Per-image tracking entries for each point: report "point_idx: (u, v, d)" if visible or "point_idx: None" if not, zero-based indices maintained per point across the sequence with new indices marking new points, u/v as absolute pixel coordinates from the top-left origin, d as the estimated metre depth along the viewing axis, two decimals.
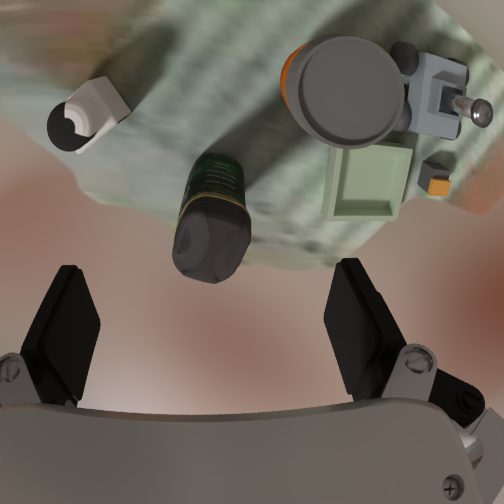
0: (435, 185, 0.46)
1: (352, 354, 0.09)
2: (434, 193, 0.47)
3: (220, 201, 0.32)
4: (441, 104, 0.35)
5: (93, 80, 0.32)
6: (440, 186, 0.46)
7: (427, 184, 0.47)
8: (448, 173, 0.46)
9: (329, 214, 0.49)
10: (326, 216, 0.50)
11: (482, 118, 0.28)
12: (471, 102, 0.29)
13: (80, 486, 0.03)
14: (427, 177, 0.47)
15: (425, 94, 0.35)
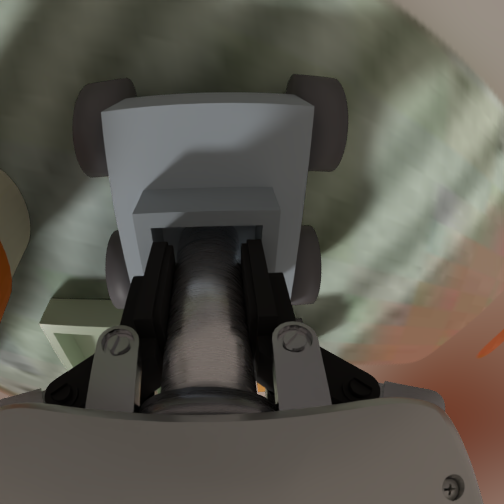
0: None
1: None
2: None
3: None
4: None
5: None
6: None
7: None
8: None
9: None
10: None
11: None
12: (168, 375, 0.07)
13: (80, 486, 0.03)
14: None
15: (136, 246, 0.14)
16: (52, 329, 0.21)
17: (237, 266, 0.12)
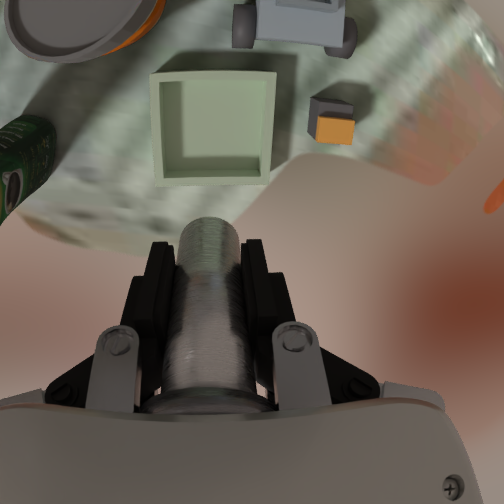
0: (324, 126, 0.32)
1: None
2: (325, 139, 0.32)
3: None
4: None
5: None
6: (335, 128, 0.32)
7: (315, 127, 0.33)
8: (350, 110, 0.31)
9: (157, 176, 0.35)
10: None
11: None
12: (168, 375, 0.08)
13: (80, 486, 0.03)
14: (314, 117, 0.33)
15: None
16: (160, 78, 0.28)
17: (237, 267, 0.12)
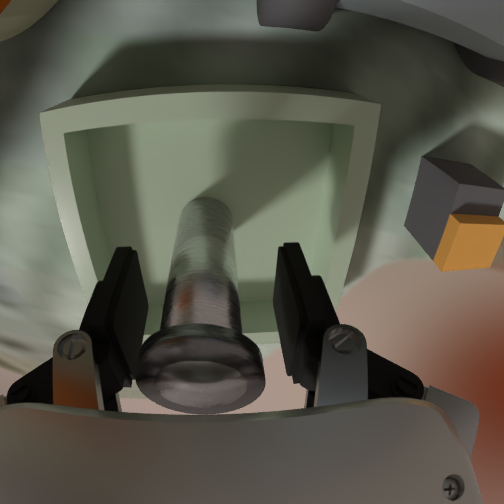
0: (462, 240, 0.13)
1: (288, 335, 0.10)
2: (455, 264, 0.14)
3: None
4: None
5: None
6: (477, 242, 0.13)
7: (435, 233, 0.14)
8: (500, 199, 0.13)
9: None
10: None
11: (194, 396, 0.09)
12: (166, 321, 0.09)
13: (80, 486, 0.03)
14: (436, 210, 0.14)
15: None
16: (64, 122, 0.10)
17: (229, 238, 0.13)
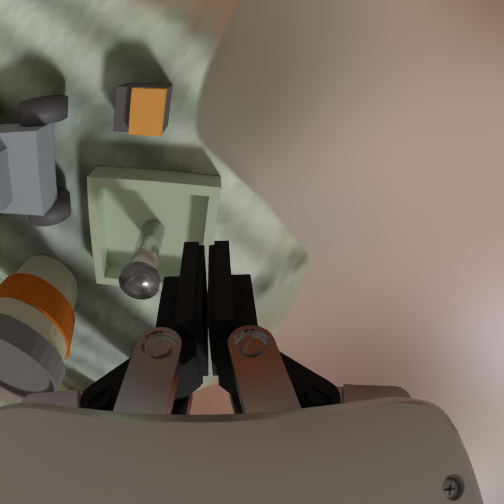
0: (139, 128, 0.24)
1: None
2: (157, 126, 0.24)
3: None
4: None
5: None
6: (141, 114, 0.23)
7: None
8: (122, 90, 0.22)
9: None
10: None
11: (145, 286, 0.26)
12: None
13: (80, 486, 0.03)
14: None
15: None
16: (100, 276, 0.33)
17: (142, 233, 0.31)
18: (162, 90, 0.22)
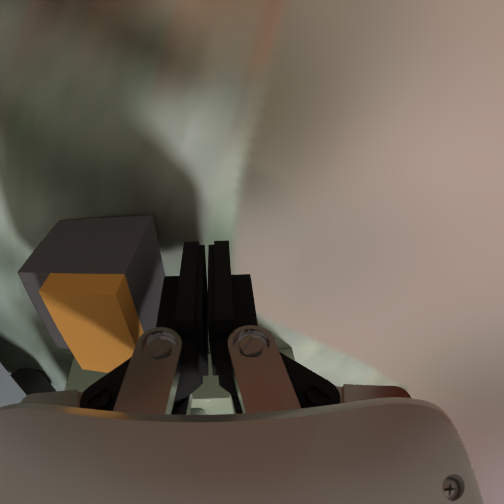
0: (97, 362, 0.10)
1: None
2: None
3: None
4: None
5: None
6: (88, 341, 0.09)
7: None
8: (31, 279, 0.09)
9: None
10: None
11: None
12: None
13: (80, 486, 0.03)
14: None
15: None
16: None
17: None
18: (108, 296, 0.08)
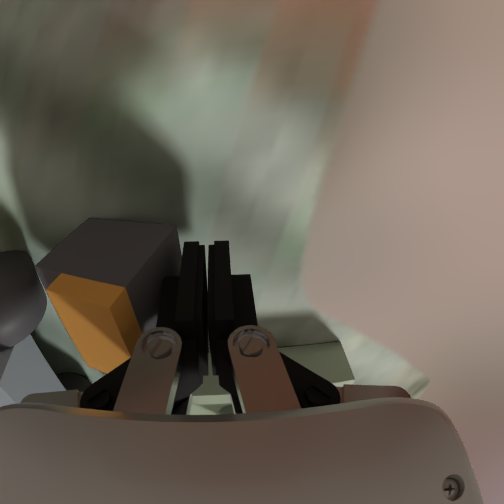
0: (100, 363, 0.10)
1: None
2: None
3: None
4: None
5: None
6: (90, 343, 0.10)
7: None
8: (46, 275, 0.10)
9: None
10: None
11: None
12: None
13: (80, 486, 0.03)
14: None
15: None
16: None
17: None
18: (103, 308, 0.08)
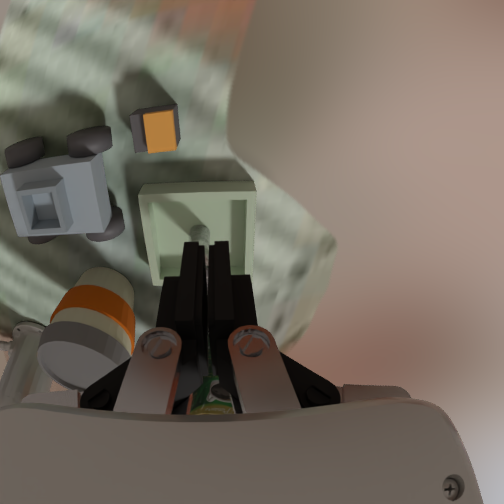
0: (156, 146, 0.29)
1: None
2: (171, 142, 0.29)
3: None
4: None
5: None
6: (156, 134, 0.28)
7: None
8: (135, 117, 0.28)
9: None
10: None
11: None
12: None
13: (80, 486, 0.03)
14: None
15: None
16: (156, 279, 0.40)
17: (192, 238, 0.37)
18: (169, 112, 0.27)
